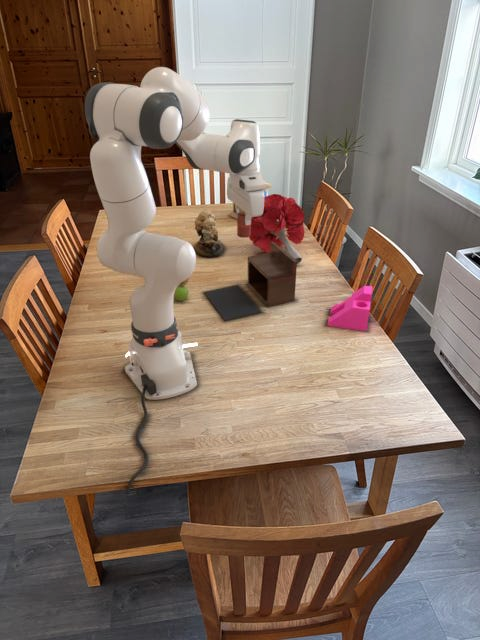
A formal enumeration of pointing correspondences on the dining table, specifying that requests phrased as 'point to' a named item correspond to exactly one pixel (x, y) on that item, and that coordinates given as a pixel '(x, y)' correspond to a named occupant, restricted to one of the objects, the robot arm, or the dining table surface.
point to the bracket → (353, 310)
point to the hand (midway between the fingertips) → (243, 221)
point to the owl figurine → (207, 235)
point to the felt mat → (232, 302)
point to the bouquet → (278, 225)
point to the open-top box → (273, 276)
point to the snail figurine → (181, 291)
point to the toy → (242, 225)
